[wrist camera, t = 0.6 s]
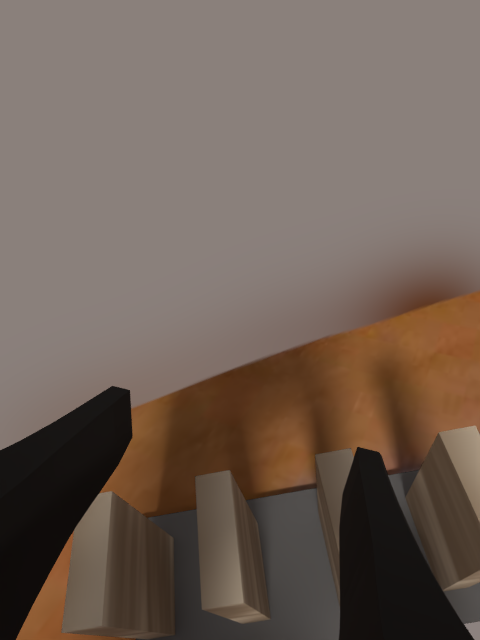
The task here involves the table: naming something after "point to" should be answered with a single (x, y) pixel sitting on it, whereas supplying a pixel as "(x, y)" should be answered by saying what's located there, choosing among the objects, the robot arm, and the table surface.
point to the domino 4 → (450, 507)
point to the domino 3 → (332, 501)
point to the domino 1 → (120, 574)
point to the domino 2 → (229, 551)
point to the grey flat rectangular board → (282, 572)
